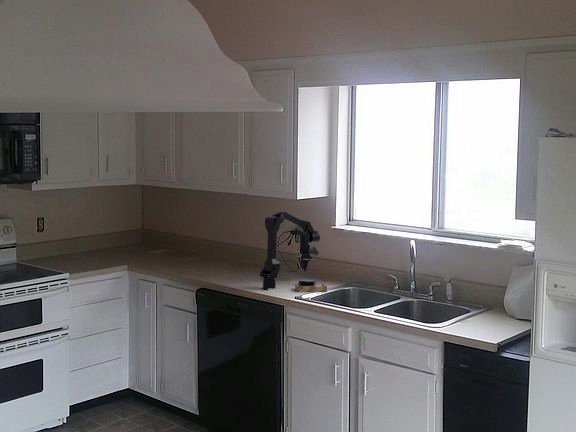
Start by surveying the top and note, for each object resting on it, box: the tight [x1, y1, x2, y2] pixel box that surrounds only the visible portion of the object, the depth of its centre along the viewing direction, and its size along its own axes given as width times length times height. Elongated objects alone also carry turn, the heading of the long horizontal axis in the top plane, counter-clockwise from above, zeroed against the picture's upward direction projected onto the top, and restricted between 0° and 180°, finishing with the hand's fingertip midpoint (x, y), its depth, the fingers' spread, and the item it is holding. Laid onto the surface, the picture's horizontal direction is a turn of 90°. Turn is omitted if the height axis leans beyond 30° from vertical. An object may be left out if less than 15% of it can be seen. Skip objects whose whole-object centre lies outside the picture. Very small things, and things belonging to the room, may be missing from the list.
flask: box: [298, 278, 318, 286], centre depth 423 cm, size 9×3×11 cm
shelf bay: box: [294, 282, 328, 293], centre depth 406 cm, size 16×12×3 cm
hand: (303, 269), depth 432 cm, fingers open, 9 cm apart
